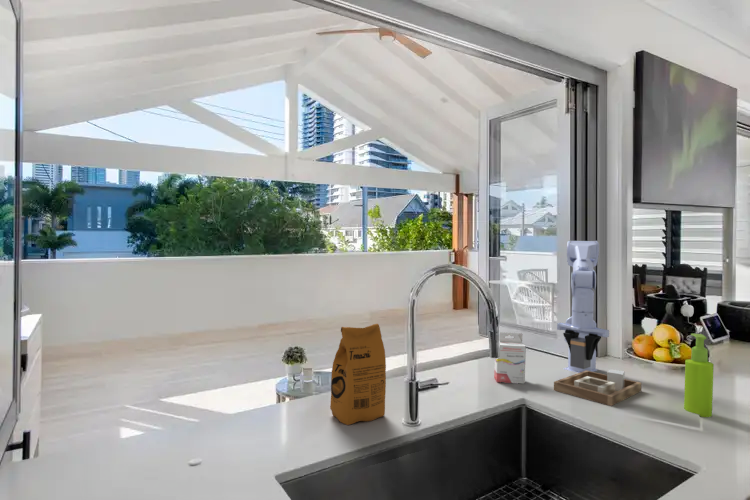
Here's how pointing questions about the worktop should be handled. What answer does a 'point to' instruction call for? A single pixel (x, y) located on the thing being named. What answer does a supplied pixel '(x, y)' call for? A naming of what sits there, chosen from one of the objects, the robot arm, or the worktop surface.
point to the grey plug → (616, 378)
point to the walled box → (596, 388)
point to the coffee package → (359, 376)
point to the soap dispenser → (699, 380)
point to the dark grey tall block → (579, 353)
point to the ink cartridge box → (511, 359)
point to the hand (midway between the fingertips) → (581, 357)
